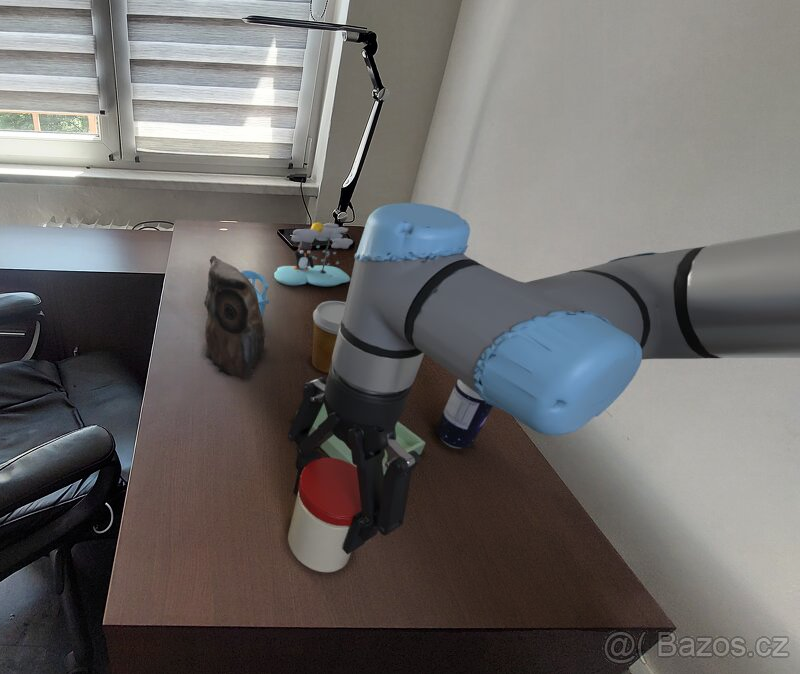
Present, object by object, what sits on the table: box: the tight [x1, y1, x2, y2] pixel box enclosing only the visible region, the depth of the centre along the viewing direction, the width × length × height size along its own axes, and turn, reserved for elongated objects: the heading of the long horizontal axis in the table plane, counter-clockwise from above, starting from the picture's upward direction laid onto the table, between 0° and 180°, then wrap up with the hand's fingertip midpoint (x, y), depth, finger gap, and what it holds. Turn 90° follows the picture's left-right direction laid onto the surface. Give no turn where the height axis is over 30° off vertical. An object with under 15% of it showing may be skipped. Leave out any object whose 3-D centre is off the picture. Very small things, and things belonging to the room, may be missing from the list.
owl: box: [204, 255, 266, 381], centre depth 86 cm, size 13×13×20 cm
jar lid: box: [298, 457, 362, 526], centre depth 53 cm, size 8×8×2 cm
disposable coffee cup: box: [311, 300, 346, 374], centre depth 88 cm, size 10×10×12 cm
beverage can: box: [435, 378, 494, 449], centre depth 72 cm, size 6×6×12 cm
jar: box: [287, 490, 353, 573], centre depth 56 cm, size 8×8×10 cm
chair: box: [240, 270, 270, 320], centre depth 99 cm, size 8×8×12 cm
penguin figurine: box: [273, 221, 354, 288], centre depth 117 cm, size 20×11×15 cm, turn 91°
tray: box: [295, 404, 426, 475], centre depth 74 cm, size 15×13×2 cm
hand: (326, 516), depth 56 cm, fingers closed on jar lid, 8 cm apart
